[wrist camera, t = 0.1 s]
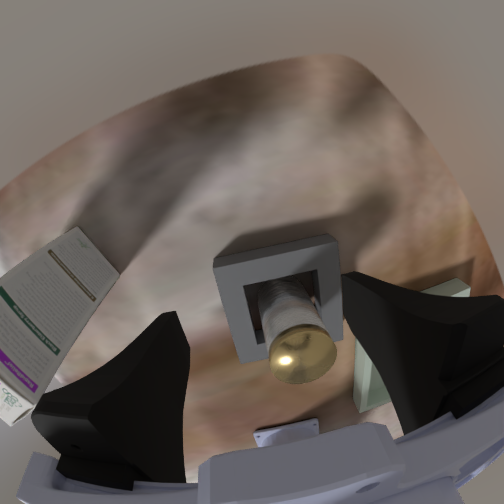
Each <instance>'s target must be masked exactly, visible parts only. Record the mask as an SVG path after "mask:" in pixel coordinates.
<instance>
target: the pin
mask: <svg viewBox="0 0 504 504" xmlns="http://www.w3.org/2000/svg"><path fill="white" fill-rule="evenodd" d="M257 302H258V307H259V312H260V317H261V322H262V327H263V332H264V337H265V342H266V347H267V352H268V357H269V362H270V367H271V371H272V373H273V374H274V376H275V377H276V378H277V379H279V380H280V381H283V382H285V383H290V384H303V383H307V382H311V381H313V380H316V379H318V378H319V377H321V376H323V375H324V374H325V373H326V372H327V371H329V369H330V368H331V367H332V366H333V364H334V362H335V360H336V356H337V349H336V346H335V344H334V342H333V340H332V338H331V336H330V334H329V333H328V331H327V329H326V327H325V325H324V323H323V321H322V319H321V318H320V316H319V314H318V312H317V310H316V308H315V306H314V305H313V303H312V301H311V299H310V297H309V295H308V293H307V292H306V290H305V288H304V286H303V284H302V283H301V282H300V281H299V280H298V279H297V278H295V277H293V276H291V275H289V276H285V277H280V278H276V279H271V280H267V281H265V282H264V283H263V284H262V285H261V287H260V289H259V291H258V294H257Z"/></svg>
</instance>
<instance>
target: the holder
mask: <svg viewBox="0 0 504 504" xmlns="http://www.w3.org/2000/svg"><path fill="white" fill-rule="evenodd" d="M307 271H312V279H313V288H314V297H315V306H316V310H317V312H318V314H319V316H320V318H321V319H322V321H323V323H324V325H325V327H326V329H327V331H328V333H329V334H330V336H331V338H332V340H333V342H336V341H340V340H343V312H342V291H341V275H340V262H339V250H338V241H337V240H335V239H334V238H333V237H332V236H331V235H330V234H325V235H320V236H315V237H311V238H306V239H301V240H297V241H292V242H287V243H283V244H278V245H273V246H269V247H264V248H260V249H255V250H250V251H246V252H241V253H236V254H232V255H227V256H222V257H218V258H214V262H213V272H214V275H215V279H216V283H217V286H218V290H219V293H220V297H221V300H222V304H223V307H224V311H225V314H226V317H227V321H228V324H229V328H230V331H231V334H232V338H233V341H234V344H235V347H236V351H237V354H238V357H239V360H240V363H241V364H243V363H248V362H253V361H258V360H263V359H268V358H269V357H268V352H267V347H266V342H265V337H264V332H263V329H260V330H255V329H254V325H253V321H252V316H251V312H250V308H249V304H248V300H247V296H246V291H245V287H244V285H248V284H253V283H258V282H262V281H267V280H271V279H276V278H280V277H285V276H289V275H294V274H298V273H302V272H307Z"/></svg>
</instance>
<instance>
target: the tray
mask: <svg viewBox="0 0 504 504" xmlns="http://www.w3.org/2000/svg"><path fill="white" fill-rule="evenodd" d="M470 289H471V287H470V286H468V285H467V284H465V283H464V282H463V281H461V280H460V279H458V278H454V279H452V280H449V281H447V282H444V283H442V284H439V285H436V286H434V287H431V288H428V289H426V290H423V291H420V292H422V293H427V294H433V295H441V296H452V297H469V295H470ZM353 400H354V403H355V405H356V407H357V409H358V411H359V413H362V412H365V411H368V410H370V409H373V408H376V407H378V406H381V405H384V404H386V403H389V402H391V398H390V396H389V394H388V391H387V389H386V387H385V385H384V383H383V381H382V378H381V376H380V374H379V372H378V371H377V369H376V367H375V365H374V364H373V362H372V361H371V359H370V358H369V356H368V355H367V353H366V352H365V350H364V349H363V348H362V346H361V345H360V343H359V342H358V340H357V339H355V370H354V387H353Z"/></svg>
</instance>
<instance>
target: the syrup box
mask: <svg viewBox="0 0 504 504" xmlns="http://www.w3.org/2000/svg"><path fill="white" fill-rule="evenodd" d="M119 277H120V274H119V273H118V272H117V271H116V269H115V268H114V267H113V266H112V265H111V264H110V263H109V261H108V260H107V259H106V258H105V257H104V256H103V255H102V254H101V252H100V251H99V250H98V249H97V248H96V247H95V246H94V244H93V243H92V242H91V241H90V240H89V239H88V238H87V236H86V235H85V234H84V233H83V232H82V231H81V229H80V228H79V227H78V226H77V227H75V228H73V229H71V230H70V231H68V232H66V233H65V234H63V235H61V236H59V237H58V238H56V239H55V240H53V241H51V242H50V243H48V244H47V245H45V246H44V247H42V248H41V249H39V250H38V251H36V252H35V253H33V254H32V255H30V256H29V257H28V258H26V259H25V260H23V261H22V262H21V263H19V264H18V265H16V266H15V267H14V268H12V269H11V270H10V271H8V272H7V273H6V274H4V275H3V276H2V277H1V278H0V418H1V419H2V420H3V421H5V422H6V423H7V424H8V425H9V426H10V427H11V426H12V425H14V424H15V423H16V422H17V421H19V420H21V419H23V418H24V417H26V416H27V415H28V414H29V413H30V412H31V411H32V410H33V409H34V408H35V407H36V405H37V403H38V401H39V400H40V398H41V396H42V395H43V394H44V392H45V390H46V389H47V387H48V385H49V383H50V381H51V380H52V378H53V376H54V375H55V373H56V371H57V370H58V368H59V366H60V365H61V363H62V361H63V360H64V358H65V356H66V355H67V353H68V352H69V350H70V349H71V347H72V345H73V344H74V342H75V341H76V339H77V338H78V336H79V335H80V333H81V331H82V330H83V328H84V327H85V325H86V324H87V322H88V321H89V319H90V318H91V316H92V315H93V313H94V312H95V311H96V309H97V307H98V306H99V305H100V303H101V302H102V300H103V299H104V298H105V296H106V295H107V294H108V292H109V291H110V289H111V288H112V287H113V285H114V284H115V282H116V281H117V280H118V278H119Z"/></svg>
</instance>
